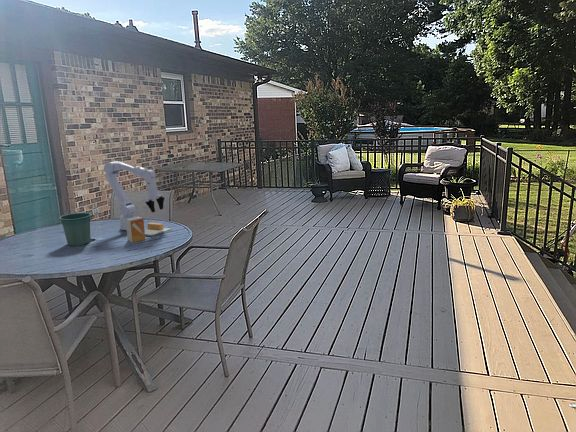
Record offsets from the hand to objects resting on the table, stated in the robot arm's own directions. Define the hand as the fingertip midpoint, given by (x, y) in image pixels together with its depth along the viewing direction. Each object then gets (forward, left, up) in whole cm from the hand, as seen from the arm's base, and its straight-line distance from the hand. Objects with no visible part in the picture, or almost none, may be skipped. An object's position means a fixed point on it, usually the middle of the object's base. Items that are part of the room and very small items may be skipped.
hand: (157, 210), depth 275 cm
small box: (+4, -24, -13) cm, 27 cm away
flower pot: (-24, -40, -13) cm, 48 cm away
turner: (0, 0, -13) cm, 13 cm away
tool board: (-2, -10, -13) cm, 16 cm away
